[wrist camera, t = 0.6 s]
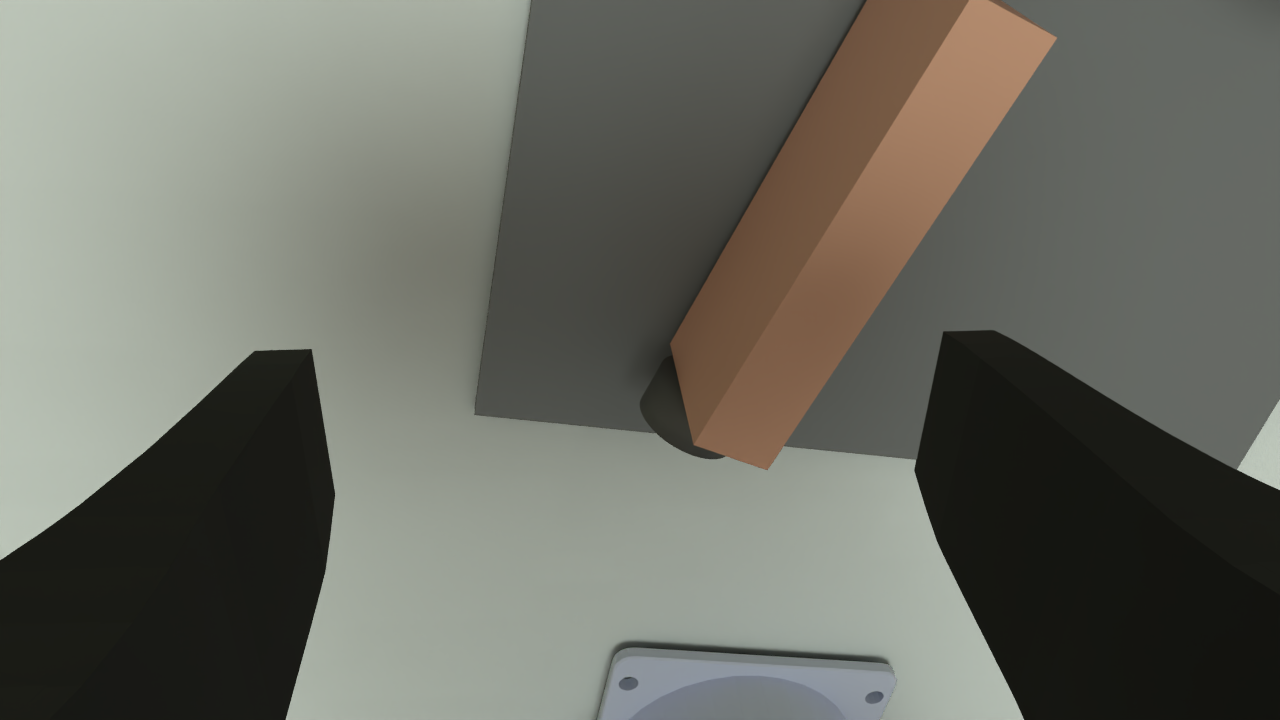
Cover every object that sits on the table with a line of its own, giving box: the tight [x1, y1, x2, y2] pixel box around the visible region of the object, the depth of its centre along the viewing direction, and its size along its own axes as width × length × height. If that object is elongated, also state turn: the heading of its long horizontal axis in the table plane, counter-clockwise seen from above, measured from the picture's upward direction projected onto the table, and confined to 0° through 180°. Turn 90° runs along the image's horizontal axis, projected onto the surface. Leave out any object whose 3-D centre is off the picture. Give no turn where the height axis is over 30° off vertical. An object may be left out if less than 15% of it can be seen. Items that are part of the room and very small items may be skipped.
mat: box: [474, 0, 1280, 470], centre depth 22 cm, size 16×19×1 cm
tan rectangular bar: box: [640, 0, 1057, 470], centre depth 20 cm, size 10×2×4 cm, turn 154°
